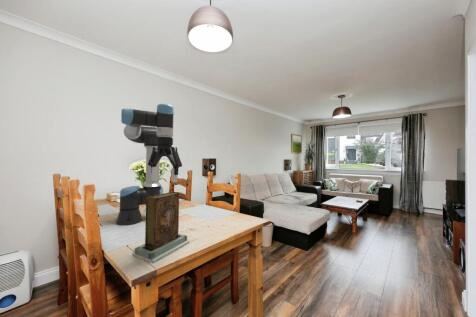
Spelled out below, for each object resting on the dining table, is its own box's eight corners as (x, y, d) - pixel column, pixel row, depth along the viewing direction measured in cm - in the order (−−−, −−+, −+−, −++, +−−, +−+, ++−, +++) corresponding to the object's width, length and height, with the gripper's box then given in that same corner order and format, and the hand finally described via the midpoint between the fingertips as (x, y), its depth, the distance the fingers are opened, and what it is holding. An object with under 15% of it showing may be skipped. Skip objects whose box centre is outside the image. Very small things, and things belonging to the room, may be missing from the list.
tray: (132, 254, 88) (132, 247, 88) (169, 237, 108) (169, 231, 108) (154, 263, 82) (154, 255, 82) (189, 242, 101) (189, 236, 101)
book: (171, 239, 103) (172, 191, 103) (179, 241, 101) (180, 192, 101) (144, 252, 89) (145, 197, 89) (153, 255, 86) (154, 198, 86)
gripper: (140, 137, 97) (139, 179, 97) (178, 135, 86) (177, 183, 86) (153, 138, 103) (152, 178, 104) (190, 137, 92) (189, 182, 92)
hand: (164, 181), depth 95 cm, fingers open, 13 cm apart
